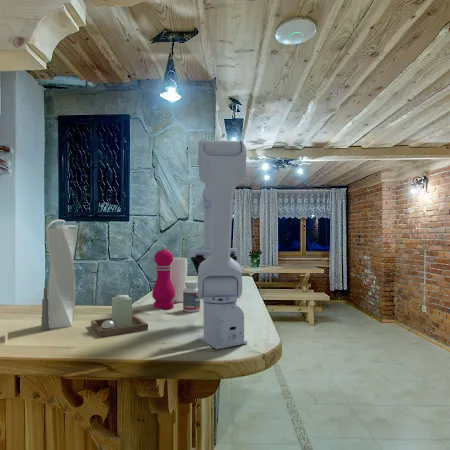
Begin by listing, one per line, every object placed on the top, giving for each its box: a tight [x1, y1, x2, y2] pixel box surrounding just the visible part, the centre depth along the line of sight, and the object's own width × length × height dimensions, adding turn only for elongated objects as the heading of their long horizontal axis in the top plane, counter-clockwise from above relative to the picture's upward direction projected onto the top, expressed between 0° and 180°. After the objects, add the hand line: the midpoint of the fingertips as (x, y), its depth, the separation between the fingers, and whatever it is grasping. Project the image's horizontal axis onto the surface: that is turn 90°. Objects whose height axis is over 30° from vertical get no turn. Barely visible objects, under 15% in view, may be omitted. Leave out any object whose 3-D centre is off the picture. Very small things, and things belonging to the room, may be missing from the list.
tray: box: [90, 314, 149, 338], centre depth 86 cm, size 11×11×2 cm
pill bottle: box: [182, 280, 201, 313], centre depth 108 cm, size 5×5×9 cm
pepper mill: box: [151, 244, 175, 311], centre depth 111 cm, size 7×7×20 cm
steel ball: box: [102, 320, 115, 330], centre depth 82 cm, size 3×3×3 cm
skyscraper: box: [40, 219, 79, 331], centre depth 89 cm, size 8×8×28 cm
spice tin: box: [111, 294, 133, 328], centre depth 87 cm, size 4×4×8 cm
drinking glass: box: [170, 257, 188, 303], centre depth 121 cm, size 7×7×15 cm
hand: (214, 282), depth 96 cm, fingers open, 7 cm apart
